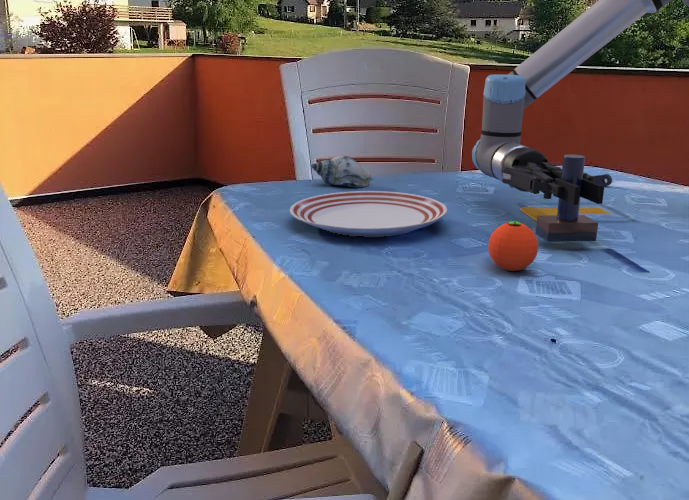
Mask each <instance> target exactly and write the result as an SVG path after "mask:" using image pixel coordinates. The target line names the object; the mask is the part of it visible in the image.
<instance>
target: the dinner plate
mask: <svg viewBox="0 0 689 500" xmlns="http://www.w3.org/2000/svg"><path fill="white" fill-rule="evenodd" d="M447 213H448V207H447V205H445V204H444V203H443V202H441V201H439V200H437V199H434V198H431V197H427V196H423V195H418V194H415V193H414V194H413V193H407V192H399V191H398V192H397V191H385V190H384V191H381V190H355V191H341V192H340V191H339V192H333V193H332V192H331V193H325V194H319V195H314V196H310V197H309V196H308V197H306V198H304V199H301V200H298V201H297V202H294V203H293V204H292V205H291V206H290V208H289V214H290V215H291V216H292V217H293V218H294V219H296V220H298V221H300V222H303V223H305V224H307V225H309V226H311V227H314V228H318V229H320V230H323V231H325V230H326V232H328V231H329V232H328V233H331V232H332V234H335V233H337V234H336V235H340V234H342V235H341V236H347V235H349V236H348V237H356V236H364V237H363V238H385V237H384V236H386V237H393V236H400V235H404V234H409V233H411V232H413V231H416V230H419V229H422V228H426V227H429V226H430V225H433V224H434V223H437V222H438V221H441V219H443V218H444V217H445V216H446V215H447Z"/></svg>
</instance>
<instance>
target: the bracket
mask: <svg viewBox="0 0 689 500" xmlns="http://www.w3.org/2000/svg"><path fill="white" fill-rule="evenodd" d="M561 170H562V168H561ZM592 176H593V177H595V181H594V183H597V184H600V185H602V186H604V187H608V186H610V185H611V184H612V183H613V177H612V176H611V174H608V173H605V174H598V175H592Z"/></svg>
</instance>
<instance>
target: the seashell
mask: <svg viewBox="0 0 689 500" xmlns="http://www.w3.org/2000/svg"><path fill="white" fill-rule="evenodd" d="M310 168H312V169H313V171H315V173H316V174H317V176H320V178H321V180H322V181H323V183H325V184H326V185H329V186H330V185H331V186H343V187H349V188H352V189H358V188H366V187H369V185H370V181H371V179H372V174H371V173H370V172H369V171H367V170H364V168H363V167H362V166H361V164H360V163H359V162H357V160H355V159H354V158H352V157H350V156H347V155H337V156H335V157H333V158H332V159H324V160H321V161H318V162H315V163H312V164H310Z"/></svg>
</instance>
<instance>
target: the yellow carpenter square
mask: <svg viewBox="0 0 689 500" xmlns="http://www.w3.org/2000/svg"><path fill="white" fill-rule="evenodd" d="M520 212H522V213H523V214H525V215H526V216H527V217H529V218H531V219H532V220H534V221H535V222H537V216H547V215H557V212H558V207H536V206H522V207H521V208H520ZM578 215H612V213H611V212H609V211H606V210H605V209H603V208H602V207H579V214H578Z"/></svg>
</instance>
